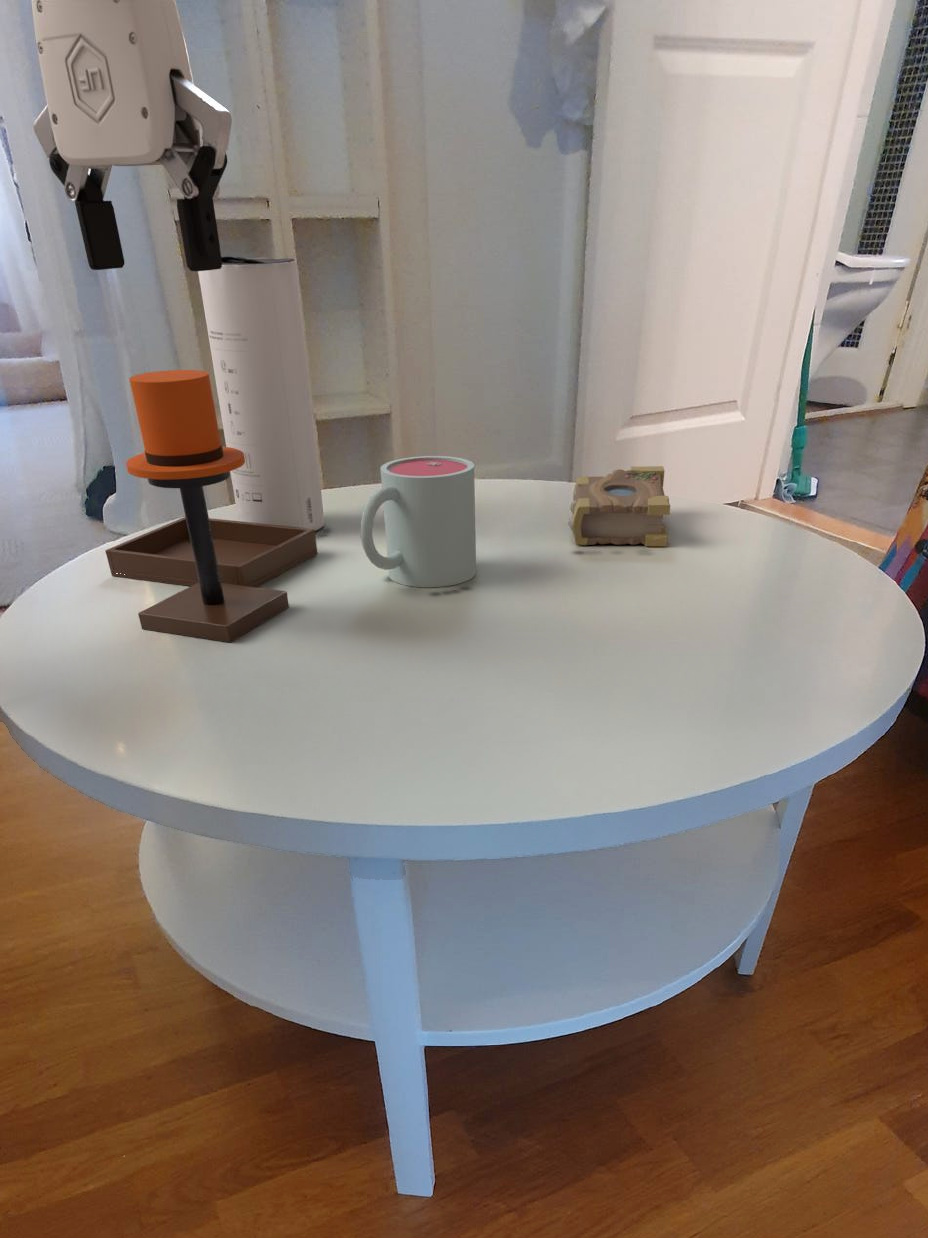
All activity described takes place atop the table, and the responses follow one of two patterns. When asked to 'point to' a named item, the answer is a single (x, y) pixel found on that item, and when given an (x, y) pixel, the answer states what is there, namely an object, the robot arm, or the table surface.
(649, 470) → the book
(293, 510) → the white cylindrical canister
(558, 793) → the table surface
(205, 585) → the hat stand
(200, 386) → the hat
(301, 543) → the tray
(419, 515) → the mug
